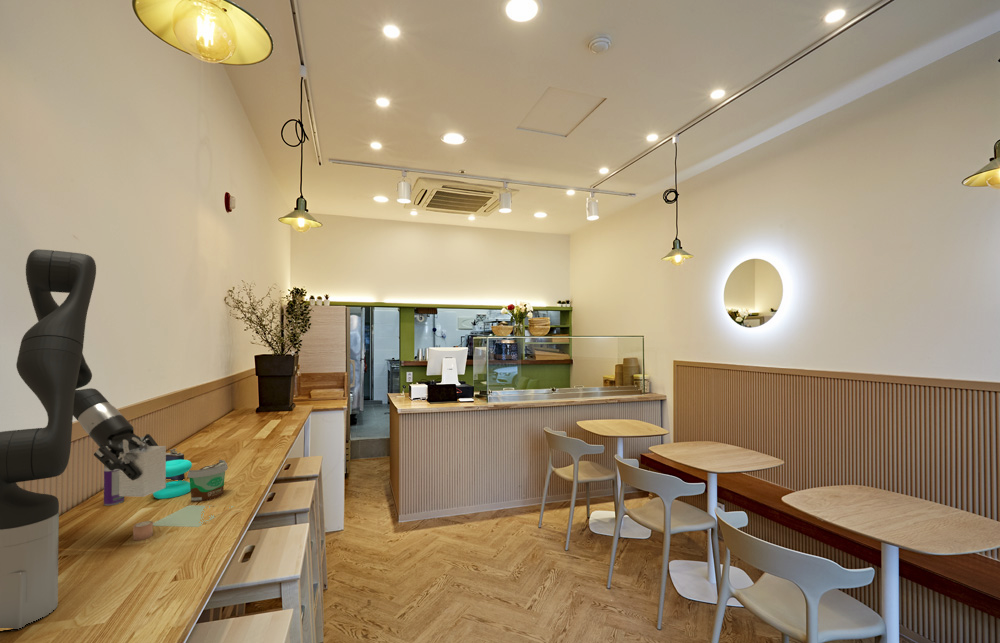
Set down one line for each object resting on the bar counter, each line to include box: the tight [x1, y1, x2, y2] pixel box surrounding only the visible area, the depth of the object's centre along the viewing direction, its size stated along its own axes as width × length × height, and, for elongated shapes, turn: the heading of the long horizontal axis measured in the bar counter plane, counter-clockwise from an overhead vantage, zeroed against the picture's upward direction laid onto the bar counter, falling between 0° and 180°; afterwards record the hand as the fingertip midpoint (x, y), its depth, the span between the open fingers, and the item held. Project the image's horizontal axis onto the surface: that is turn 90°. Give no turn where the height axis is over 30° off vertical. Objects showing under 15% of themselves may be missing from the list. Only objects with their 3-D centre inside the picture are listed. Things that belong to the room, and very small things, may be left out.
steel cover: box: [119, 444, 167, 498], centre depth 113 cm, size 6×6×12 cm
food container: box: [187, 459, 229, 503], centre depth 140 cm, size 12×6×10 cm, turn 168°
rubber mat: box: [153, 504, 235, 528], centre depth 126 cm, size 14×14×1 cm
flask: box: [166, 447, 185, 481], centre depth 159 cm, size 9×3×11 cm, turn 76°
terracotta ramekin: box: [132, 520, 154, 541], centre depth 113 cm, size 4×4×4 cm
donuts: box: [152, 459, 193, 500], centre depth 144 cm, size 10×10×10 cm
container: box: [103, 460, 125, 507], centre depth 137 cm, size 5×5×15 cm
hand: (149, 472), depth 113 cm, fingers closed on steel cover, 6 cm apart
